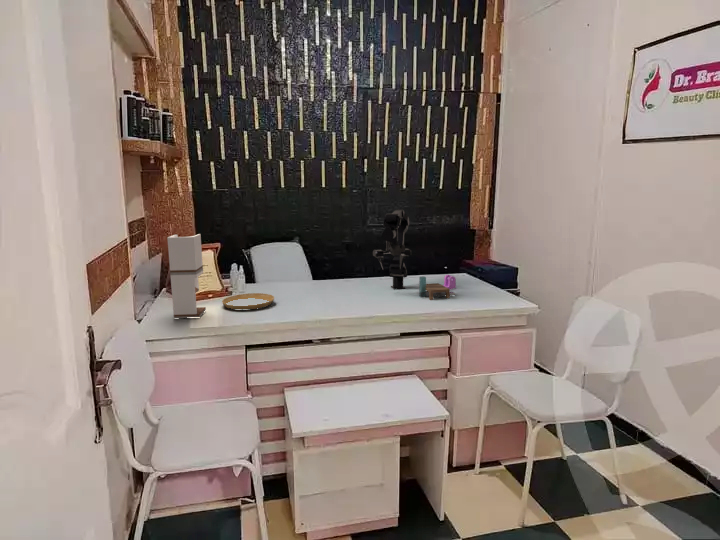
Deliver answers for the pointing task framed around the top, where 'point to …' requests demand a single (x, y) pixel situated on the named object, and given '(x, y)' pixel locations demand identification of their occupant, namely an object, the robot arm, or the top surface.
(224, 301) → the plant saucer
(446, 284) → the bracket
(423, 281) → the teal angled piece
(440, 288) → the stand
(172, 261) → the grey segmented column
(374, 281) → the top surface
